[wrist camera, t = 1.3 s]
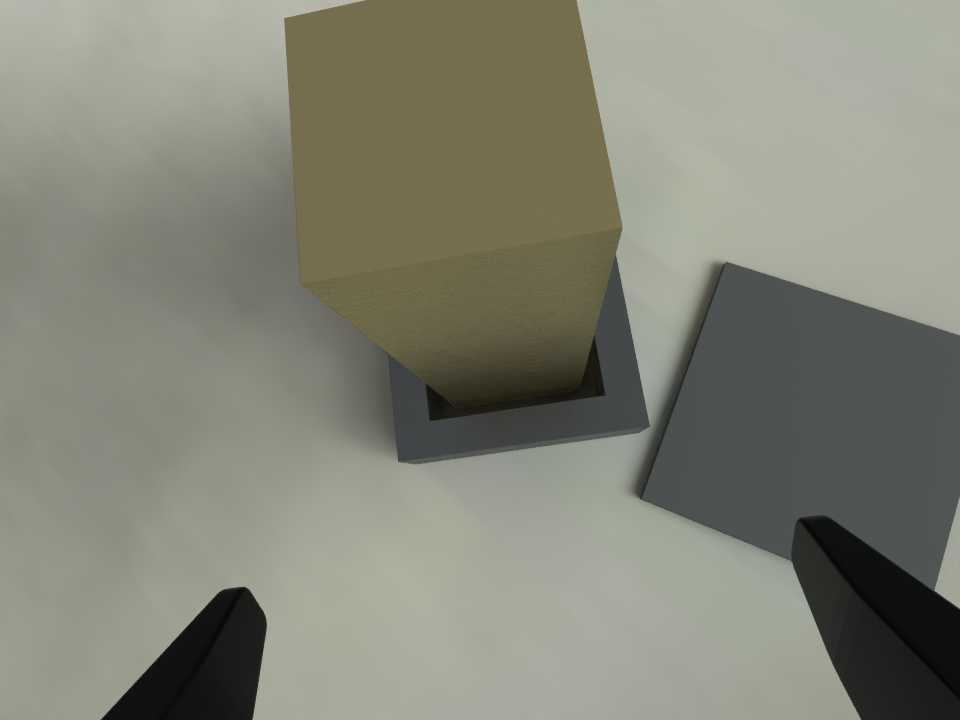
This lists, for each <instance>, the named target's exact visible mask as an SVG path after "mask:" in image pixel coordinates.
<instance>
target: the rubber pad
mask: <svg viewBox="0 0 960 720" xmlns="http://www.w3.org/2000/svg"><path fill="white" fill-rule="evenodd" d="M959 497H960V336H959V335H956V334H953V333H950V332H946V331H943V330H940V329H937V328H934V327H931V326H927V325H924V324H921V323H918V322H915V321H912V320H908V319H905V318H902V317H899V316H896V315H893V314H890V313H886V312H883V311H880V310H877V309H874V308H871V307H867V306H864V305H861V304H858V303H855V302H852V301H848V300H845V299H842V298H839V297H836V296H833V295H829V294H826V293H823V292H820V291H817V290H814V289H810V288H807V287H804V286H801V285H798V284H795V283H792V282H788V281H785V280H782V279H779V278H776V277H773V276H769V275H766V274H763V273H760V272H757V271H754V270H750V269H747V268H744V267H741V266H738V265H735V264H731V263H728V262H726V263H725V264H724V265H723V268H722V271H721V274H720V276H719V279H718V282H717V285H716V288H715V291H714V293H713V296H712V299H711V302H710V305H709V307H708V310H707V313H706V316H705V319H704V321H703V324H702V327H701V330H700V333H699V335H698V338H697V341H696V344H695V347H694V349H693V352H692V355H691V358H690V361H689V363H688V366H687V369H686V372H685V375H684V378H683V380H682V383H681V386H680V389H679V392H678V394H677V397H676V400H675V403H674V406H673V408H672V411H671V414H670V417H669V420H668V422H667V425H666V428H665V431H664V434H663V436H662V439H661V442H660V445H659V448H658V450H657V453H656V456H655V459H654V462H653V465H652V467H651V470H650V473H649V476H648V479H647V481H646V484H645V487H644V490H643V493H642V495H641V498H640V499H642V500H644V501H647V502H649V503H652V504H654V505H657V506H659V507H662V508H664V509H666V510H669V511H671V512H674V513H676V514H679V515H681V516H684V517H686V518H688V519H691V520H693V521H696V522H698V523H701V524H703V525H706V526H708V527H710V528H713V529H715V530H718V531H720V532H723V533H725V534H728V535H730V536H733V537H735V538H737V539H740V540H742V541H745V542H747V543H750V544H752V545H755V546H757V547H759V548H762V549H764V550H767V551H769V552H772V553H774V554H777V555H779V556H781V557H784V558H786V559H789V560H791V561H792V559H791V548H792V541H793V535H794V529H795V524H796V521H797V520H798V519H799V518H801V517H808V516H816V515H825V516H828V517H830V518H831V519H833V520H834V521H836V522H837V523H839V524H840V525H841V526H843V527H844V528H846V529H847V530H849V531H850V532H851V533H853V534H854V535H856V536H857V537H858V538H860V539H861V540H863V541H864V542H866V543H867V544H868V545H870V546H871V547H873V548H874V549H876V550H877V551H878V552H880V553H881V554H883V555H884V556H885V557H887V558H888V559H890V560H891V561H893V562H894V563H895V564H897V565H898V566H900V567H901V568H902V569H904V570H905V571H907V572H908V573H910V574H911V575H912V576H914V577H915V578H917V579H918V580H920V581H921V582H922V583H924V584H925V585H927V586H928V587H929V588H931V589H932V590H935V586H936V582H937V579H938V575H939V571H940V567H941V564H942V560H943V556H944V552H945V549H946V545H947V541H948V538H949V534H950V530H951V526H952V523H953V519H954V515H955V512H956V508H957V504H958V500H959Z"/></svg>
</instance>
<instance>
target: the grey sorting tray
mask: <svg viewBox="0 0 960 720" xmlns="http://www.w3.org/2000/svg"><path fill="white" fill-rule="evenodd" d="M590 352H591V357H592V363H593V368H594V374H595V379H596V385H597V390H598V397H591V398H584V399H577V400H571V401H564V402H557V403H550V404H543V405H537V406H530V407H523V408H516V409H509V410H503V411H496V412H489V413H482V414H475V415H469V416H462V417H455V418H448V419H441V410H440V402H439V394H438V393H437V392H436V391H435V390H433V389H432V388H431V387H430V386H428V385H427V384H426V383H425V382H423V381H422V380H421V379H420V378H418V377H417V376H416V375H415V374H413V373H412V372H411V371H410V370H408V369H407V368H406V367H405V366H403V365H402V364H401V363H400V362H398V361H397V360H396V359H395V358H393V357H392V356H391V355H390V354H388V358H389V368H390V379H391V389H392V400H393V410H394V420H395V431H396V441H397V452H398V462H402V463H409V464H421V463H428V462H435V461H442V460H449V459H457V458H464V457H471V456H478V455H485V454H492V453H499V452H506V451H514V450H521V449H528V448H535V447H542V446H549V445H556V444H563V443H571V442H578V441H585V440H592V439H599V438H606V437H613V436H620V435H628V434H635V433H640V432H642V431H643V430H645V429H646V428H648V427H650V425H649V420H648V415H647V410H646V405H645V400H644V395H643V390H642V385H641V380H640V374H639V369H638V364H637V359H636V354H635V349H634V344H633V339H632V334H631V329H630V324H629V319H628V314H627V309H626V304H625V299H624V294H623V289H622V284H621V279H620V273H619V268H618V263H617V258H616V254H615V258H614V262H613V266H612V269H611V273H610V277H609V281H608V285H607V288H606V292H605V296H604V300H603V303H602V307H601V311H600V315H599V319H598V322H597V326H596V330H595V334H594V337H593V341H592V345H591V349H590Z"/></svg>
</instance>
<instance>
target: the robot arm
mask: <svg viewBox="0 0 960 720" xmlns="http://www.w3.org/2000/svg"><path fill="white" fill-rule="evenodd" d="M791 559H792V563H793V567H794V569H795V572H796V574H797V577H798V579H799V582H800V584H801V587H802V589H803V592H804V594H805V597H806V600H807V602H808V605H809V607H810V610H811V612H812V615H813V617H814V620H815V622H816V625H817V627H818V630H819V632H820V635H821V637H822V640H823V642H824V645H825V647H826V650H827V652H828V654H829V657H830V659H831V661H832V664H833V666H834V668H835V670H836V672H837V674H838V676H839V678H840V680H841V682H842V684H843V686H844V688H845V690H846V691H847V693H848V695H849V697H850V699H851V701H852V703H853V705H854V707H855V709H856V711H857V712H858V714H859V716H860V718H861V720H960V609H959V608H958V607H956V606H955V605H954V604H952V603H951V602H949V601H948V600H947V599H945V598H944V597H942V596H941V595H939V594H938V593H937V592H935V591H934V590H932V589H931V588H929V587H928V586H927V585H925V584H924V583H922V582H921V581H920V580H918V579H917V578H915V577H914V576H912V575H911V574H910V573H908V572H907V571H905V570H904V569H902V568H901V567H900V566H898V565H897V564H895V563H894V562H893V561H891V560H890V559H888V558H887V557H885V556H884V555H883V554H881V553H880V552H878V551H877V550H876V549H874V548H873V547H871V546H870V545H868V544H867V543H866V542H864V541H863V540H861V539H860V538H858V537H857V536H856V535H854V534H853V533H851V532H850V531H849V530H847V529H846V528H844V527H843V526H841V525H840V524H839V523H837V522H836V521H834V520H833V519H831V518H830V517H828V516H825V515H816V516H808V517H801V518H799V519H798V520H797V521H796V524H795V529H794V535H793V541H792V548H791ZM266 629H267V622H266V617H265V614H264V612H263V610H262V609H261V607H260V606H259V604H258V602H257V601H256V599H255V598H254V596H253V594H252V593H251V591H250V590H249V589H248V588H246V587H237V588H229V589H224V590H222V591H220V592H219V593H218V594H217V595H216V596H215V597H214V598H213V599H212V600H211V601H210V602H209V603H208V605H207V606H206V607H205V608H204V609H203V610H202V611H201V612H200V613H199V614H198V615H197V616H196V618H195V619H194V620H193V621H192V622H191V623H190V624H189V625H188V626H187V627H186V628H185V629H184V630H183V632H182V633H181V634H180V635H179V636H178V637H177V638H176V639H175V640H174V641H173V642H172V643H171V645H170V646H169V647H168V648H167V649H166V650H165V651H164V652H163V653H162V654H161V655H160V656H159V657H158V659H157V660H156V661H155V662H154V663H153V664H152V665H151V666H150V667H149V668H148V669H147V670H146V672H145V673H144V674H143V675H142V676H141V677H140V678H139V679H138V680H137V681H136V682H135V683H134V684H133V686H132V687H131V688H130V689H129V690H128V691H127V692H126V693H125V694H124V695H123V696H122V697H121V699H120V700H119V701H118V702H117V703H116V704H115V705H114V706H113V707H112V708H111V709H110V710H109V711H108V713H107V714H106V715H105V716H104V717H103V718H102V719H101V720H252V719H253V713H254V708H255V702H256V695H257V688H258V682H259V675H260V669H261V662H262V656H263V649H264V643H265V636H266Z"/></svg>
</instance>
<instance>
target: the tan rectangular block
mask: <svg viewBox="0 0 960 720" xmlns="http://www.w3.org/2000/svg"><path fill="white" fill-rule="evenodd" d="M284 22H285V38H286V54H287V71H288V87H289V103H290V119H291V135H292V152H293V168H294V184H295V200H296V216H297V233H298V249H299V265H300V281H301V284H302V285H303V286H304V287H306V288H307V289H308V290H309V291H311V292H312V293H313V294H314V295H316V296H317V297H318V298H319V299H321V300H322V301H323V302H324V303H326V304H327V305H328V306H329V307H331V308H332V309H333V310H334V311H336V312H337V313H338V314H339V315H341V316H342V317H343V318H344V319H346V320H347V321H348V322H349V323H351V324H352V325H353V326H355V327H356V328H357V329H358V330H360V331H361V332H362V333H363V334H365V335H366V336H367V337H368V338H370V339H371V340H372V341H373V342H375V343H376V344H377V345H378V346H380V347H381V348H382V349H383V350H385V351H386V352H387V353H388V354H390V355H391V356H392V357H393V358H395V359H396V360H397V361H398V362H400V363H401V364H402V365H403V366H405V367H406V368H407V369H408V370H410V371H411V372H412V373H413V374H415V375H416V376H417V377H418V378H420V379H421V380H422V381H423V382H425V383H426V384H427V385H428V386H430V387H431V388H432V389H433V390H435V391H436V392H437V393H438V394H440V395H441V396H442V397H444V398H445V399H446V400H447V401H449V402H450V403H451V404H452V405H454V406H455V407H456V408H457V409H458V408H465V407H471V406H478V405H485V404H491V403H498V402H505V401H512V400H518V399H525V398H532V397H539V396H545V395H552V394H559V393H565V392H572V391H579V390H580V387H581V383H582V379H583V375H584V371H585V368H586V364H587V360H588V356H589V353H590V349H591V345H592V341H593V337H594V334H595V330H596V326H597V322H598V319H599V315H600V311H601V307H602V303H603V300H604V296H605V292H606V288H607V285H608V281H609V277H610V273H611V269H612V266H613V262H614V258H615V254H616V251H617V247H618V243H619V239H620V235H621V232H622V228H623V227H622V222H621V217H620V212H619V208H618V203H617V198H616V193H615V188H614V183H613V178H612V173H611V168H610V163H609V158H608V153H607V149H606V144H605V139H604V134H603V129H602V124H601V119H600V114H599V109H598V104H597V99H596V94H595V90H594V85H593V80H592V75H591V70H590V65H589V60H588V55H587V50H586V45H585V40H584V35H583V30H582V26H581V21H580V16H579V11H578V6H577V1H576V0H366V1H361V2H356V3H352V4H347V5H343V6H338V7H334V8H329V9H325V10H320V11H316V12H311V13H306V14H302V15H297V16H293V17H288V18H284Z"/></svg>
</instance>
